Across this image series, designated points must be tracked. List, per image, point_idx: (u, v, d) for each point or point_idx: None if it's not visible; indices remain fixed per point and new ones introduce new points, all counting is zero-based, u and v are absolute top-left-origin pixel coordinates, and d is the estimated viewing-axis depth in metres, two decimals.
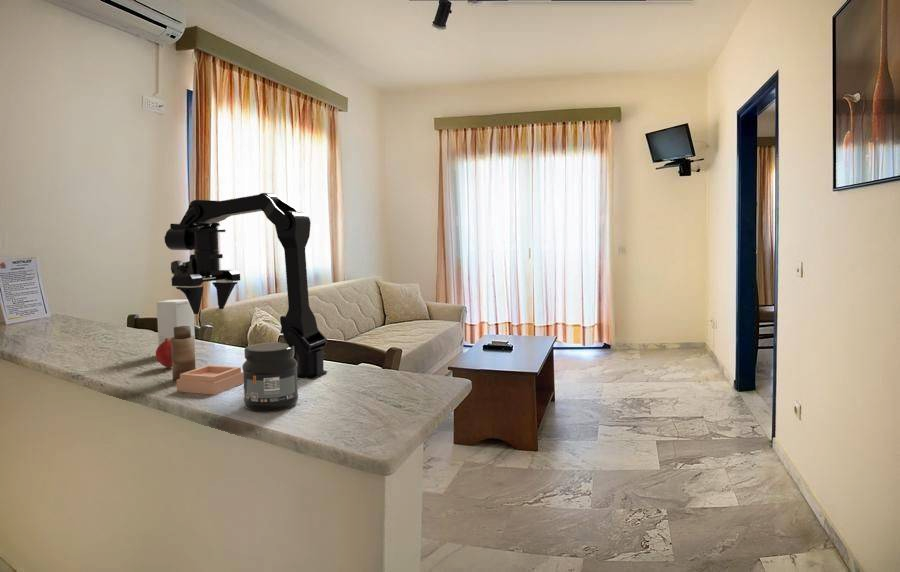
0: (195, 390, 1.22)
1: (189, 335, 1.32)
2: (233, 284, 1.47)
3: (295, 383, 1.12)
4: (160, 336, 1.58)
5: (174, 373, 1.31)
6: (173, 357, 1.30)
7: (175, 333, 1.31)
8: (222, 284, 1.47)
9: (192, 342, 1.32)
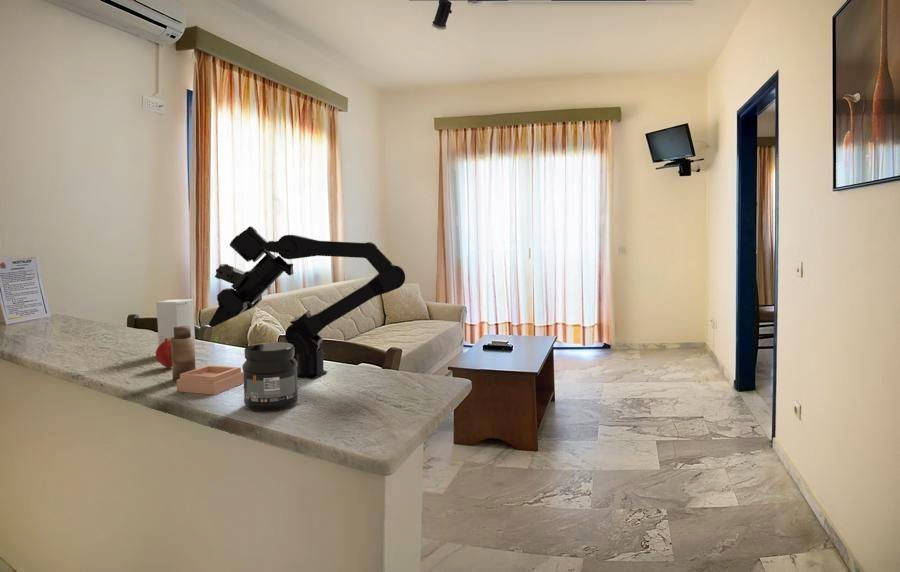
0: (195, 390, 1.22)
1: (189, 335, 1.32)
2: None
3: (295, 383, 1.12)
4: (160, 336, 1.58)
5: (174, 373, 1.31)
6: (173, 356, 1.30)
7: (175, 333, 1.31)
8: None
9: (192, 342, 1.32)
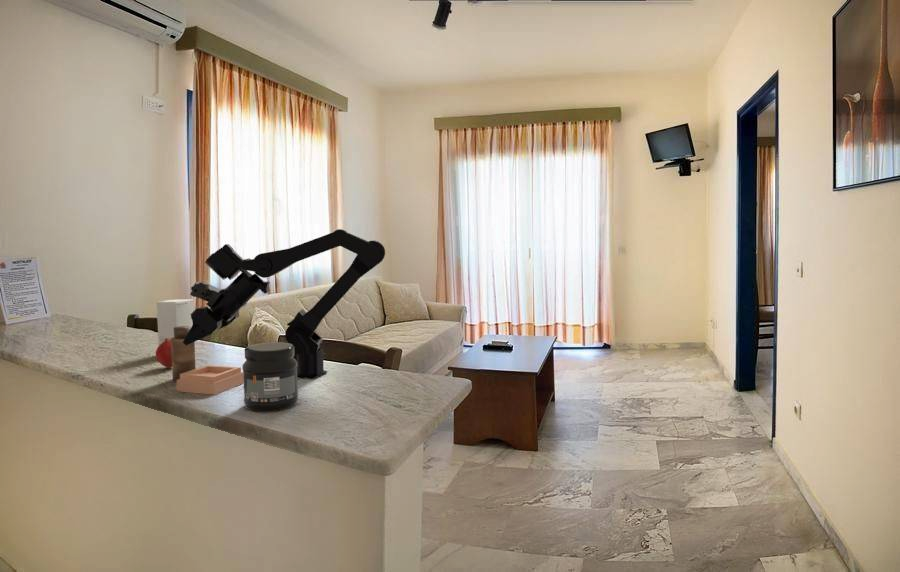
0: (195, 390, 1.22)
1: None
2: (227, 324, 1.39)
3: (295, 383, 1.12)
4: (160, 336, 1.58)
5: (174, 373, 1.31)
6: (173, 357, 1.30)
7: (175, 333, 1.31)
8: None
9: None
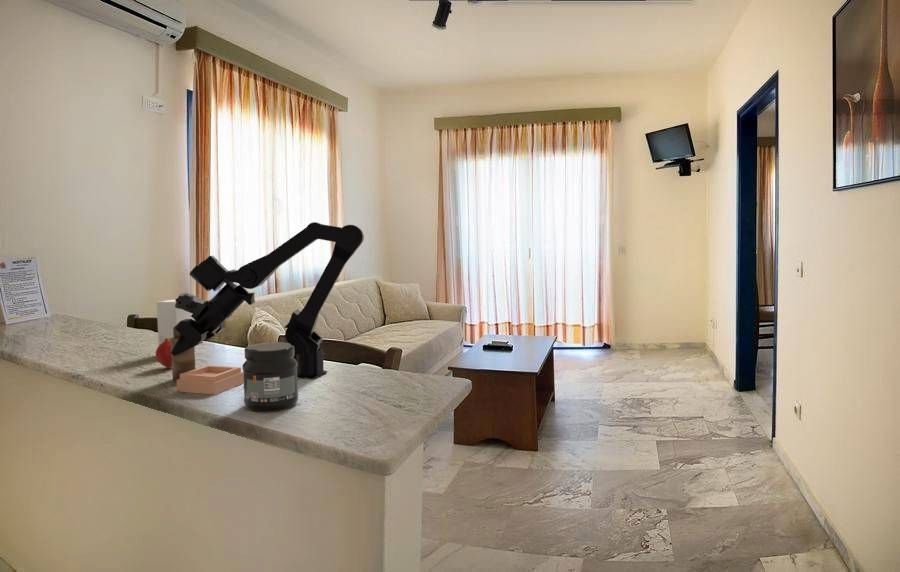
0: (195, 390, 1.22)
1: None
2: None
3: (295, 383, 1.12)
4: (160, 336, 1.58)
5: (174, 373, 1.31)
6: (173, 356, 1.30)
7: (175, 333, 1.31)
8: None
9: None
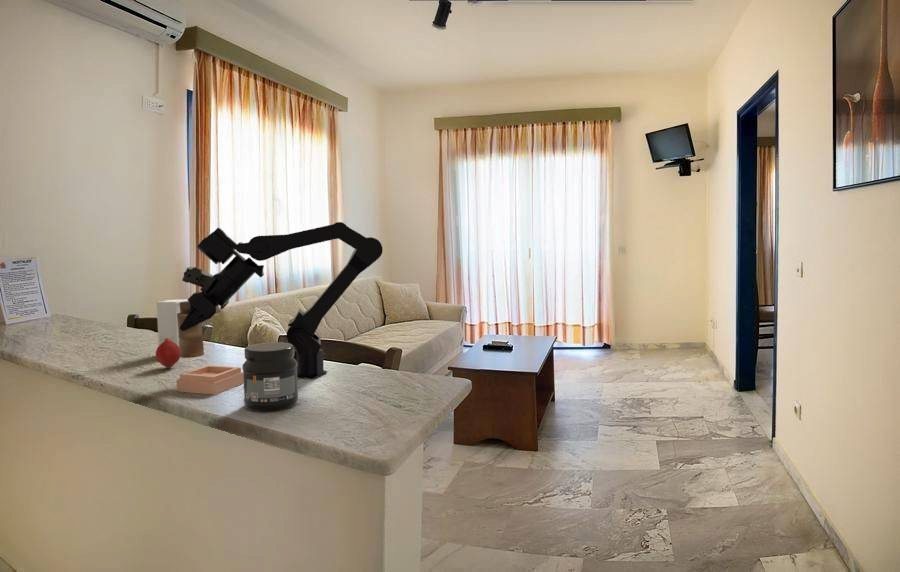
0: (195, 390, 1.22)
1: None
2: (217, 312, 1.34)
3: (295, 383, 1.12)
4: (160, 336, 1.58)
5: (182, 349, 1.27)
6: (181, 332, 1.27)
7: (182, 308, 1.27)
8: None
9: None
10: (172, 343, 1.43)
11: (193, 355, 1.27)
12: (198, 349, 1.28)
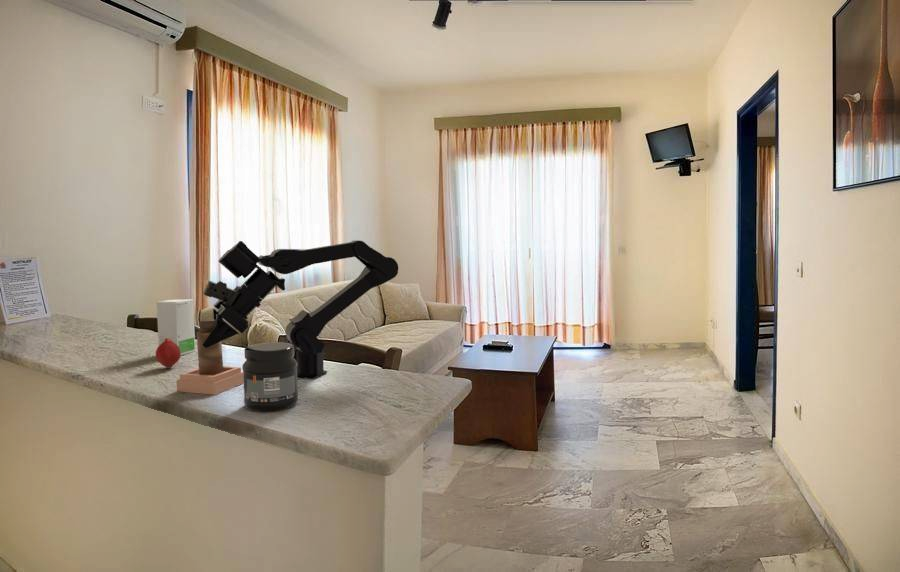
0: (195, 390, 1.22)
1: None
2: None
3: (295, 383, 1.12)
4: (160, 336, 1.58)
5: (204, 369, 1.23)
6: (203, 352, 1.23)
7: (203, 327, 1.23)
8: None
9: None
10: (172, 343, 1.43)
11: None
12: (220, 368, 1.25)
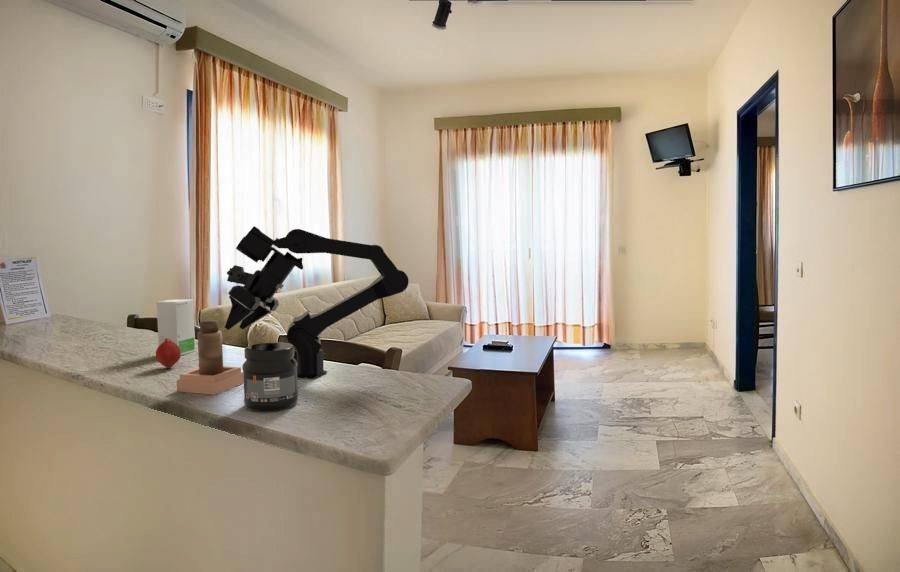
0: (195, 390, 1.22)
1: (217, 329, 1.26)
2: (268, 313, 1.37)
3: (295, 383, 1.12)
4: (160, 336, 1.58)
5: (204, 370, 1.23)
6: (204, 352, 1.23)
7: (204, 327, 1.23)
8: (258, 307, 1.36)
9: (221, 336, 1.26)
10: (172, 343, 1.43)
11: None
12: (220, 369, 1.25)
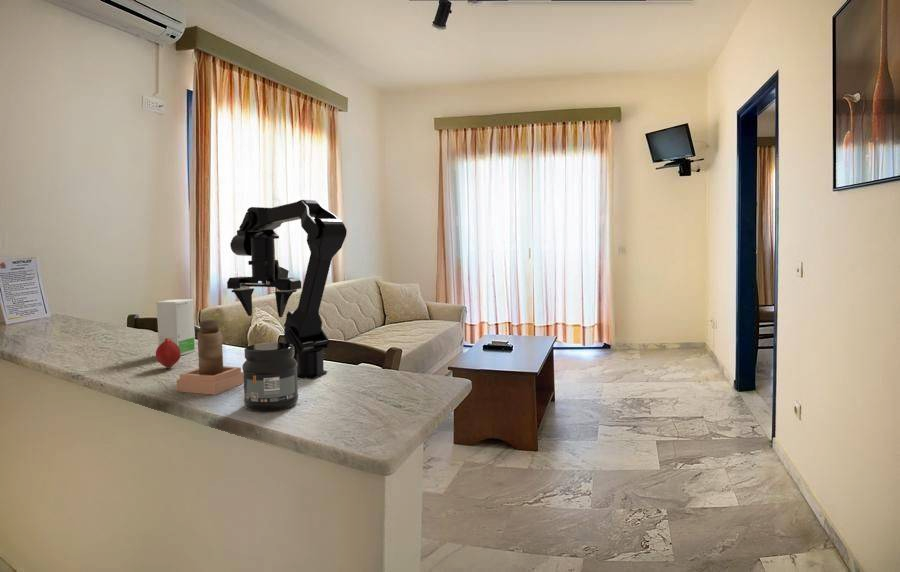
0: (195, 390, 1.22)
1: (217, 329, 1.25)
2: (278, 293, 1.40)
3: (295, 383, 1.12)
4: (160, 336, 1.58)
5: (204, 370, 1.23)
6: (204, 352, 1.23)
7: (204, 327, 1.23)
8: None
9: (221, 337, 1.26)
10: (172, 343, 1.43)
11: None
12: (220, 369, 1.25)
